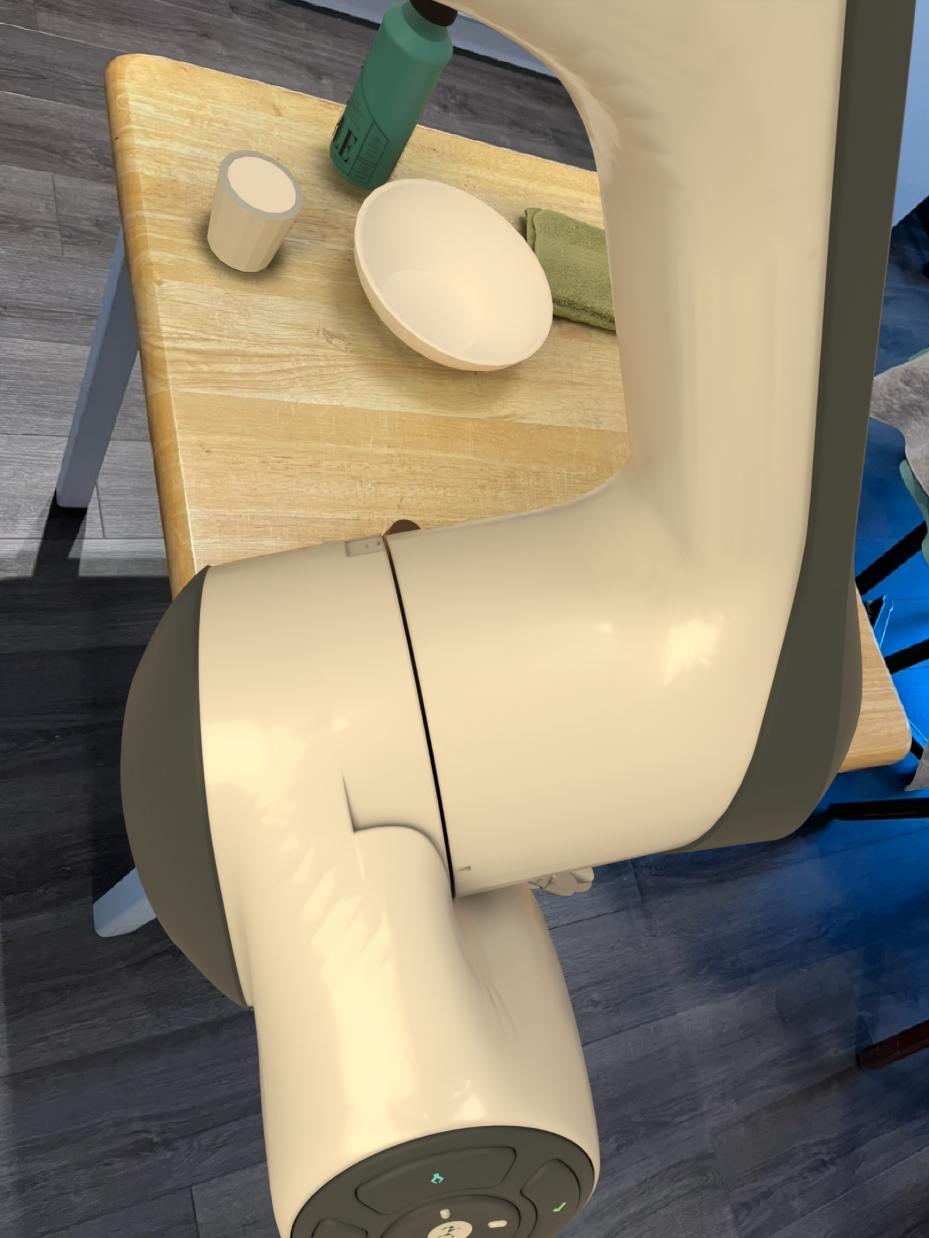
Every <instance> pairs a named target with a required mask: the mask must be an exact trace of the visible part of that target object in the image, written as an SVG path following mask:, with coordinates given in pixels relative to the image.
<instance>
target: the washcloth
mask: <svg viewBox="0 0 929 1238" xmlns="http://www.w3.org/2000/svg"><path fill="white" fill-rule="evenodd" d="M523 211H524V215H525V221H524V222H525V226H526V242H527V244H528V245H529V246H530V248H531V249H532V251H533V252H534V254H535V255H536V257H537V259H538V261H539V263H540V265H541V267H542V268H543V270H544V272H545V275H546V278H547V281H548V284H549V287H550V290H551V297H552V303H553V315H555V316H557V317H561V318H566V319H568V320H570V321H571V322H581V323H582V322H583V323H584V324H585V323H586V324H587V325H591V326H594V327H600V328H601V329H606V330H609V331H610V330H611V331H613V332H616V324H615V316H614V307H613V299H612V290H611V282H610V273H609V264H608V256H607V247H606V239H605V230H604V228H601V227H598V226H595V225H592V224H589V223H586V222H582V221H580V220H578V219H576V218H574V217H571V216H569V215H567V214H564V213H562V212H559V211H556V210H554V209H553V210H552V209H548V208H546V209H542V208H541V207H540V208H539V207H527V208H525V209H524V210H523Z"/></svg>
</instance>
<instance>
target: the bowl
mask: <svg viewBox="0 0 929 1238" xmlns="http://www.w3.org/2000/svg"><path fill="white" fill-rule="evenodd" d="M353 256H354V264H355V268H356V271H357V275H358V279H359V282H360V284H361V286H362V289H363V291H364V293H365V295H366V298H367V299H368V302H369V304H370V306H371V307H372V309H373V310H374V311H375V313H376V314H377V316H378V317H379V319H380V321H382V323H383V324H384V325H385V326H386V327H387V328H388V329H389V330H390V331H391V332H392V333H393V334H394V336H396V338H398V340H401V341H402V343H404V344H405V345H406V346H407V347H408V348H410V349H412V350H413V351H415V352H416V353H418V354H420V355H421V356H423V357H425V358H426V359H428V360H431V361H433V362H435V363H437V364H441V365H443V366H445V367H449V368H453V369H456V370H457V369H458V370H460V371H474V372H492V371H498V370H504V369H507V368H509V367H512V366H515V365H517V364H519V363H521V362H523V361H525V360H526V359H529V358H530V357H532V355H534V353H536V352H537V351H538V350H539V349H541V348H542V346H543V344H544V343H545V341H546V340H547V338H548V336H549V334H550V330H551V327H552V324H553V315H554V314H553V303H552V297H551V290H550V287H549V284H548V281H547V278H546V275H545V272H544V270H543V268H542V267H541V265H540V263H539V261H538V259H537V257H536V255H535V254H534V252H533V251H532V249H531V248H530V246H529V245H528V244H527V240H526V239H525V238H524V237H523V236H522V235H521V234H520V232H518V230H517V229H516V228H515V226H514V225H512V224H511V223H510V222H509V221H508V220H507V219H506V218H505V217H504V216H503V215H502V214H501V213H499V212H498V211H497V210H496V209H494V208H493V207H492V206H490V205H489V204H487V203H486V202H484V201H483V200H481V199H480V198H478V197H476V196H474V195H472V194H471V193H469V192H467V191H465V190H463V189H461V188H459V187H456V186H453V185H451V184H448V183H445V182H442V181H438V180H433V179H427V178H401V179H397V180H392V181H389V182H388V181H387V182H386V184H384V185H383V186H381V187H379V188H377V189H373V191H372V192H371V193H370V194H369V195H368V196H367V197H365V199H364V201H363V202H362V204H361V207H360V209H359V210H358V212H357V216H356V220H355V226H354V230H353Z"/></svg>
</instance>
